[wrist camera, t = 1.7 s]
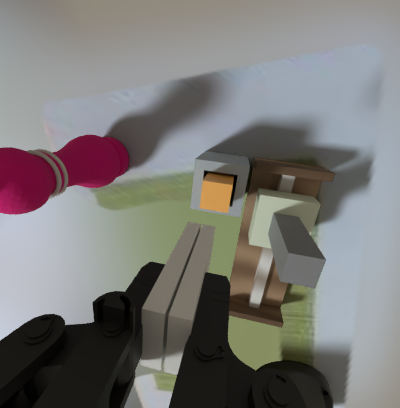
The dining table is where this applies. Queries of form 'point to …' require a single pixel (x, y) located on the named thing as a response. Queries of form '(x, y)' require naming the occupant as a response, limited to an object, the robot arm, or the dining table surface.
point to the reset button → (216, 191)
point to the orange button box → (222, 165)
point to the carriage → (288, 234)
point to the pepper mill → (57, 171)
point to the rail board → (260, 256)
